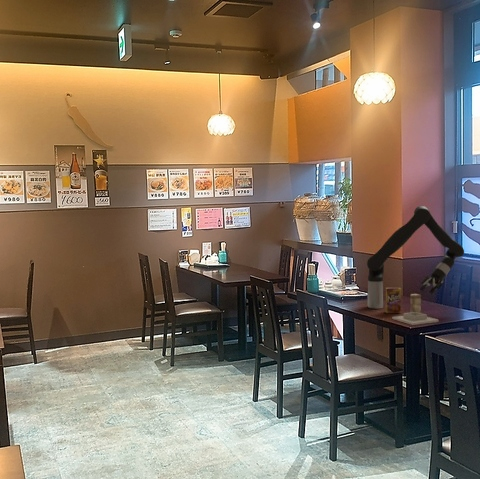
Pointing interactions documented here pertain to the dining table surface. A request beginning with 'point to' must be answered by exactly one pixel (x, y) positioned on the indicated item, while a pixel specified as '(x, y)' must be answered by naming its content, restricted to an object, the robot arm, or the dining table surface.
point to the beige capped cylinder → (415, 303)
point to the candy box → (393, 300)
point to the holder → (415, 318)
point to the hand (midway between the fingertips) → (425, 291)
